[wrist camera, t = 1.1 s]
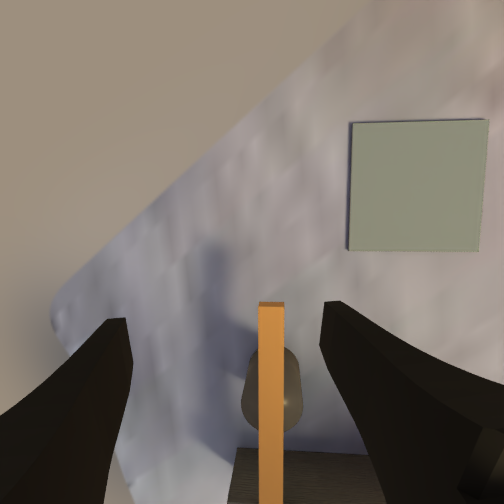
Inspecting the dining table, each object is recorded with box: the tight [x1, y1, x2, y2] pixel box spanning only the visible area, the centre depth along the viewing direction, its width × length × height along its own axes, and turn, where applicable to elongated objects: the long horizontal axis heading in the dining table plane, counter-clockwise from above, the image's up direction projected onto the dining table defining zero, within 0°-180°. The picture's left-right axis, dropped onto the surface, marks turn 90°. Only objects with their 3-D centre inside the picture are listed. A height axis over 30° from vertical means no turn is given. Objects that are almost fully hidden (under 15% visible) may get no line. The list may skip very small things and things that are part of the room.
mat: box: [348, 120, 489, 252], centre depth 24 cm, size 9×9×1 cm
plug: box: [241, 347, 303, 432], centre depth 24 cm, size 4×4×5 cm
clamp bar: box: [258, 302, 284, 504], centre depth 21 cm, size 16×2×1 cm, turn 0°
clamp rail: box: [227, 448, 387, 504], centre depth 25 cm, size 2×13×5 cm, turn 90°
